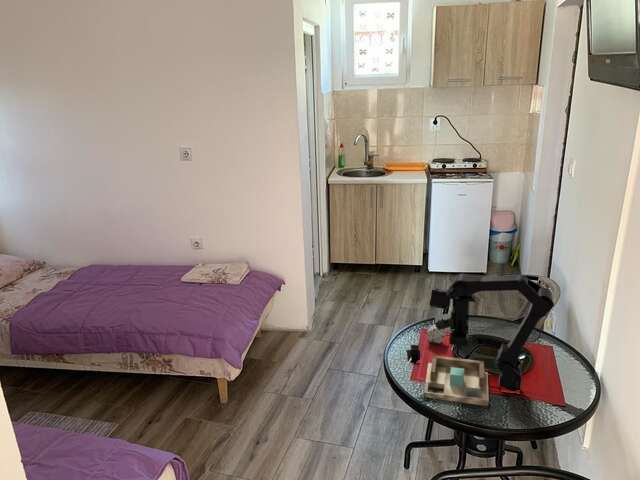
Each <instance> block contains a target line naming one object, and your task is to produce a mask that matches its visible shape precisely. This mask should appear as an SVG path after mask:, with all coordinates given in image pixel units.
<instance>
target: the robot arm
mask: <svg viewBox="0 0 640 480" xmlns="http://www.w3.org/2000/svg"><path fill="white" fill-rule="evenodd" d="M500 291H501V292H504V291H505V292H507V291H509V292H511V291H518V292H519V293H521V295H523V296H524V298H526V300H527V301H528V302H529V303H530V304H529V306H528V307H529V308H528V311H527V313H526V314H525V316H524V318H523V320H522V321H521V323H520V325H518V326H519V327H518V328H517V330H516V331H515V333H514V334H513V337H512V338H511V340H510V341H509V343H507V344H505V343H502V344H501V346H500V348H499V350H497V354H496V360H495V361H496V367H497V369H498V371H500V373H499V378H498V387H499V386H501V387H504V388H506V389H508V390H511V391H516V390H521V386H522V379H523V378H522V377H523V375H522V362H521V361H520V360H519V356H520V353H521V351H522V349H523V347H524V346H525V345H526V342H527V341H528V339H529V338H530V337H531V335H532V333H533V331H534V330H535V328H536V326H537V324H538V323H539V321H540V320H541V319H543V318H544V317H546V316H547V315H548V314H549V312H550V311H551V310H552V309H553V307H554V295H553V292H552V291H551V290H550V289H549V288H546V287H543V286H542V285H541V284H539V283H537V282H535V281H533V280H531V279H529V278H528V277H527V276H526V275H523V274H520V275H515V276H514V275H513V276H512V275H509V276H507V275H506V276H477V275H475V274H469V273H459V274H458V275H457V276H456V277H455V279H454V280H453V283H452V284H451V285H450V286H449V288H448V289H442V288H441V289H440V288H437V287H432V289H431V295H430V299H429V307H430V308H435V309H442V310H447V309H449V307H451V306H452V308H451V310H450V311H451V312H450V313H444V314H439V315H436V316H435V317H434V325H436V328H437V329H438V330H441V329H444V330H445V329H447V328H449V329H450V333H449V343H448V344H449V345H451V346H455V347H456V350H457V351H461V350H462V348H463V347H468V346H469V341H470V335H469V324H470V308H471V307H470V306H471V303H476V299H477V295H475V294H476V293H480V292H500Z"/></svg>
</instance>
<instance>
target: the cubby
mask: <svg viewBox="0 0 640 480" xmlns="http://www.w3.org/2000/svg"><path fill="white" fill-rule="evenodd" d="M431 359H432V360H431V363H432V365H431V375H430V380H435V374H436V366H439V367H447V368H451V367H454V368H462V369H464V370H472V371H479V386H481V387H484V370H485V363H484V362H485V361H484V360H475V359H467V358H458V357H450V356H441V355H432V358H431Z"/></svg>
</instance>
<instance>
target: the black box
mask: <svg viewBox="0 0 640 480" xmlns="http://www.w3.org/2000/svg"><path fill="white" fill-rule="evenodd" d="M420 350H421V349H420V348H419V344H410V348H409V349H406V355H407V363H408V364H417V363H416V362H417V361H418V360H420Z"/></svg>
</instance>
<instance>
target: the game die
mask: <svg viewBox="0 0 640 480" xmlns="http://www.w3.org/2000/svg"><path fill="white" fill-rule="evenodd" d="M424 334H426V335H427V338H428V342H429V343H431V342H432V343H435V344H439V346H440V345H441V346H442V344H441V343H442V342H443V341H444V340H445V339H446V337H448V336H449V335H448V334H446V331H445V329H441V330H438V329H437V328H436V324H435V323H433V322H431V325H430V327H429V328H428V329H427V330H426V331H424ZM428 342H427V343H428Z"/></svg>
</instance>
